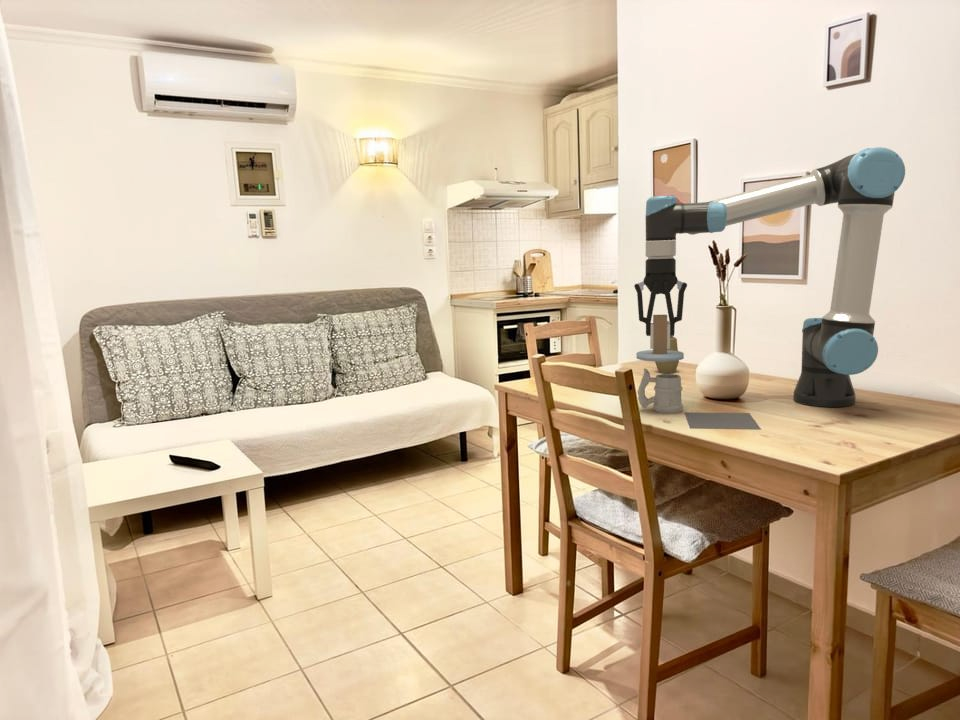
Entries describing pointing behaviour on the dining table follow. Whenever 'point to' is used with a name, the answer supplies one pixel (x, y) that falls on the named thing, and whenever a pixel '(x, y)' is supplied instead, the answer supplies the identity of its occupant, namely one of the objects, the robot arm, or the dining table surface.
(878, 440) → the dining table surface
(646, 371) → the mug
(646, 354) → the lid
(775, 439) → the dining table surface
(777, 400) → the dining table surface
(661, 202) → the robot arm
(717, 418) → the mat
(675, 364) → the squeeze bottle
